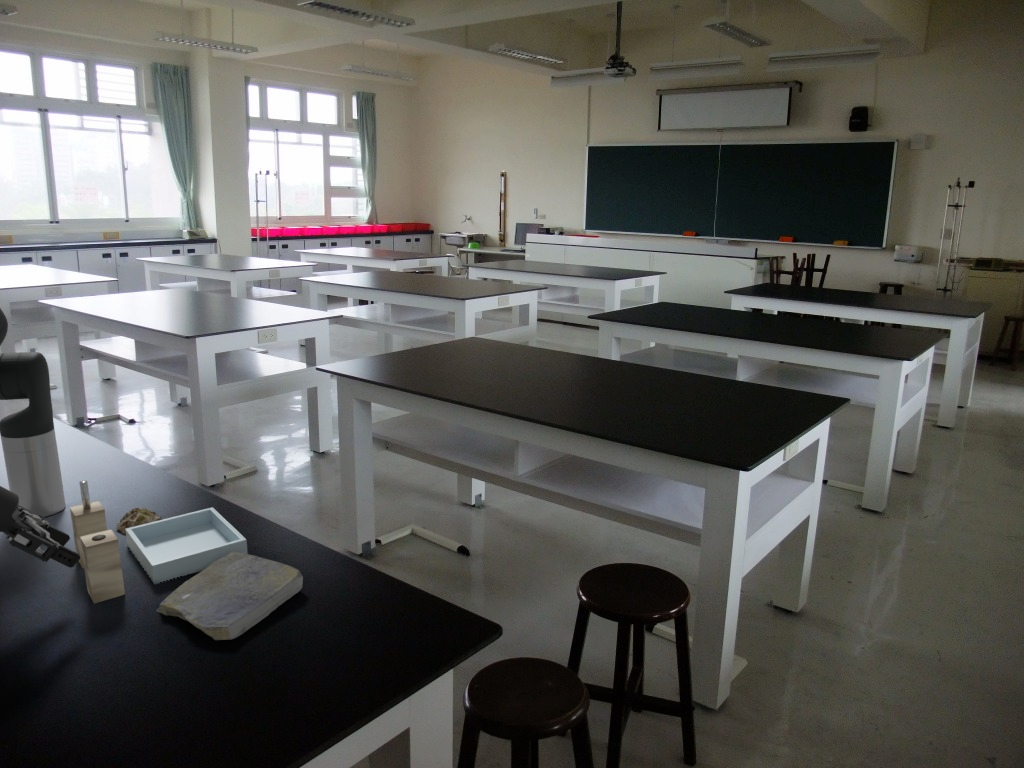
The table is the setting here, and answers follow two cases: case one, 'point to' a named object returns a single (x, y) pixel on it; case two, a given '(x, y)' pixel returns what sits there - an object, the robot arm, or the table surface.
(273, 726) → the table surface
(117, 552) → the block
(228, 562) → the fossil
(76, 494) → the table surface
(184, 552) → the tray
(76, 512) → the block
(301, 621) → the table surface
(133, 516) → the mineral rock
